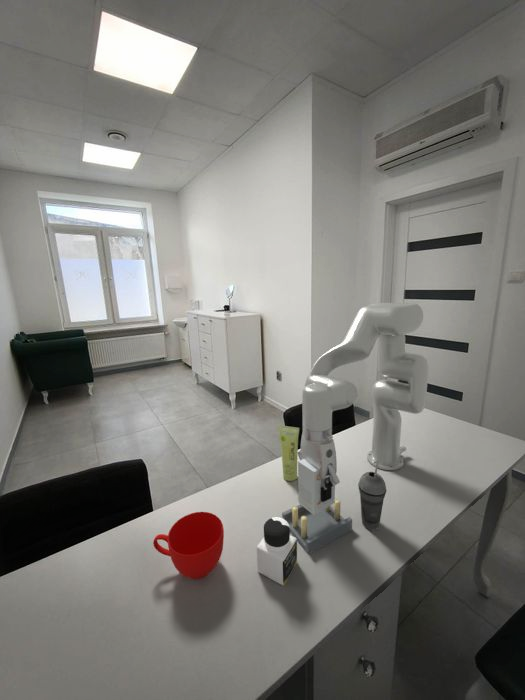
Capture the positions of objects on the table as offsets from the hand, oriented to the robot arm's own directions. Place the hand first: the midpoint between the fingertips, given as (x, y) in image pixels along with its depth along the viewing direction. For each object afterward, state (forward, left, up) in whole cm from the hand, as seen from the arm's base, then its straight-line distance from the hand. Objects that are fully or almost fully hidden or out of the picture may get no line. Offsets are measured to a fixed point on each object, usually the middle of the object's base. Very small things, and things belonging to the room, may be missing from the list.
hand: (316, 491), depth 82 cm
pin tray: (0, 0, -11) cm, 11 cm away
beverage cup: (-13, +7, -11) cm, 19 cm away
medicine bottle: (+16, +5, -11) cm, 20 cm away
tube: (-6, -22, -11) cm, 25 cm away
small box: (0, 0, -4) cm, 4 cm away
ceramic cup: (+34, -6, -11) cm, 36 cm away
